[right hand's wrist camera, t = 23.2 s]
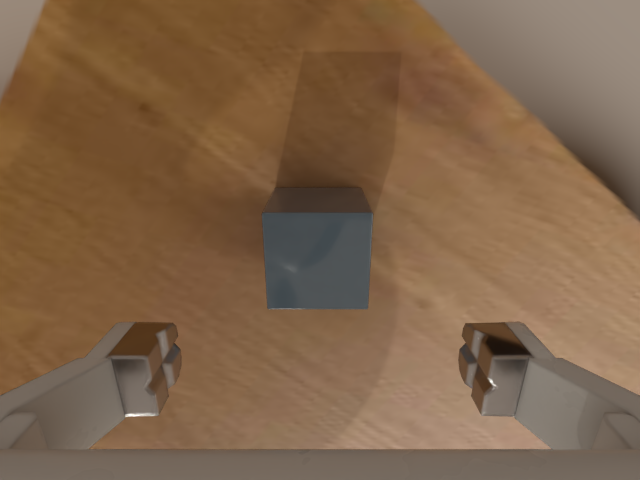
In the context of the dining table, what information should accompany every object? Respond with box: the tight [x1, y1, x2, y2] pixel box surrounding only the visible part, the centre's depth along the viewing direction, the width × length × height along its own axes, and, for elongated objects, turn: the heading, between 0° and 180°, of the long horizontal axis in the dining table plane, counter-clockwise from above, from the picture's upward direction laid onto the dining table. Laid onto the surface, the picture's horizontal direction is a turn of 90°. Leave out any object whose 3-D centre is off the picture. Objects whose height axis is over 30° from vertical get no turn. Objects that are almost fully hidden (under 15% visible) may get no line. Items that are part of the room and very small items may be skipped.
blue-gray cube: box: [262, 188, 373, 309], centre depth 18 cm, size 5×5×5 cm
